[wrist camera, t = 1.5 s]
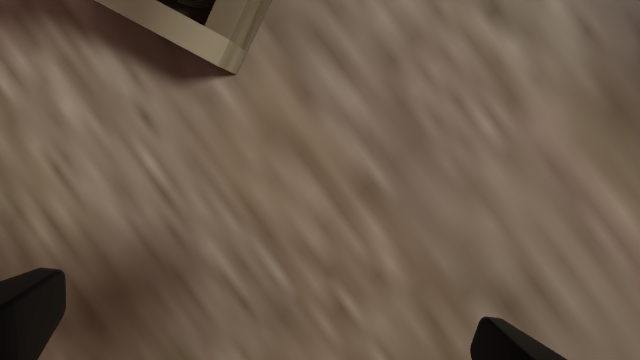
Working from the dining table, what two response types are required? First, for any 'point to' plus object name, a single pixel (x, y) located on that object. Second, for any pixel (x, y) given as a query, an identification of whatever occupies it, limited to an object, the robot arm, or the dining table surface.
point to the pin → (197, 3)
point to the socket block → (201, 27)
